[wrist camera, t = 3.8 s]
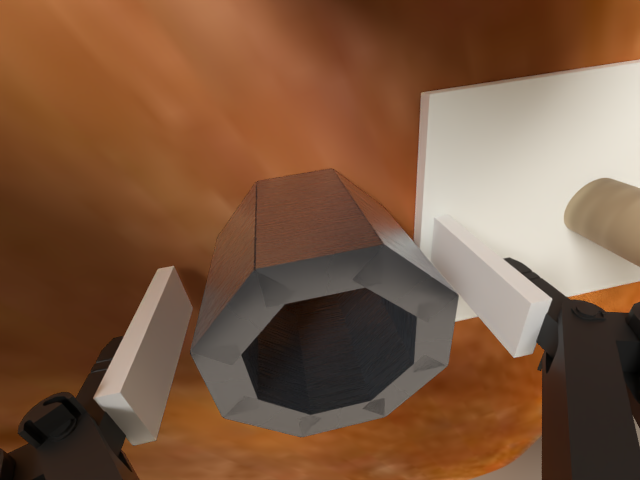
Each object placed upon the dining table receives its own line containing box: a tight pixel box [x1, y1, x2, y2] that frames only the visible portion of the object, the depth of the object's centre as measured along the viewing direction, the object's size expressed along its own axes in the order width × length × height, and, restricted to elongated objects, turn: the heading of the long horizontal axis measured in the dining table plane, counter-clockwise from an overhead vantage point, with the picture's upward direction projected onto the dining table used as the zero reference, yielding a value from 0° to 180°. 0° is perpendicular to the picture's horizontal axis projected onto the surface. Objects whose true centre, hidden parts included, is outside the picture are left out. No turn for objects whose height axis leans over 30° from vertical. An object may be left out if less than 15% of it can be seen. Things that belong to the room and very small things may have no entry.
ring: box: [190, 169, 459, 437], centre depth 14 cm, size 9×9×7 cm
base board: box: [414, 60, 640, 322], centre depth 18 cm, size 20×14×1 cm
